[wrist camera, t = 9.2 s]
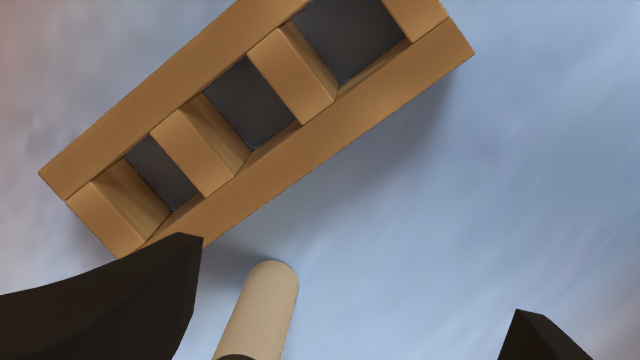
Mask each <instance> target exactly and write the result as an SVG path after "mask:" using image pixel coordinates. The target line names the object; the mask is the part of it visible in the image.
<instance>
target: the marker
mask: <svg viewBox="0 0 640 360" xmlns="http://www.w3.org/2000/svg"><path fill="white" fill-rule="evenodd" d="M298 289H299V281H298V277H297V275H296V273H295V272H294V270H293V269H292V268H291V267H290V266H288V265H287V264H285V263H283V262H280V261H276V260H267V261H263V262H260V263H258V264H257V265H255V266H254V267H253V268H252V270H251V271H250V273H249V275H248V278H247V280H246V282H245V284H244V287H243V289H242V291H241V294H240V296H239V298H238V301H237V303H236V305H235V307H234V310H233V312H232V314H231V317H230V319H229V321H228V323H227V326H226V328H225V330H224V333H223V335H222V337H221V340H220V342H219V344H218V346H217V349H216V351H215V353H214V356H213V358H212V360H280V358H281V354H282V350H283V347H284V343H285V339H286V335H287V331H288V327H289V324H290V320H291V316H292V312H293V308H294V305H295V301H296V297H297V293H298Z"/></svg>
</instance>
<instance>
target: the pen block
mask: <svg viewBox="0 0 640 360" xmlns="http://www.w3.org/2000/svg"><path fill="white" fill-rule="evenodd" d="M312 1H313V0H237V1H236V2H235V3H234V4H232V5H231V6H230V7H229V8H228V9H227V10H225V11H224V12H223V13H222V14H221V15H220V16H218V17H217V18H216V19H215V20H214V21H213V22H211V23H210V24H209V25H208V26H207V27H206V28H204V29H203V30H202V31H201V32H200V33H199V34H197V35H196V36H195V37H194V38H193V39H192V40H190V41H189V42H188V43H187V44H186V45H185V46H183V47H182V48H181V49H180V50H179V51H178V52H176V53H175V54H174V55H173V56H172V57H171V58H169V59H168V60H167V61H166V62H165V63H164V64H163V65H161V66H160V67H159V68H158V69H157V70H156V71H154V72H153V73H152V74H151V75H150V76H149V77H147V78H146V79H145V80H144V81H143V82H142V83H140V84H139V85H138V86H137V87H136V88H135V89H133V90H132V91H131V92H130V93H129V94H128V95H126V96H125V97H124V98H123V99H122V100H121V101H119V102H118V103H117V104H116V105H115V106H114V107H112V108H111V109H110V110H109V111H108V112H107V113H105V114H104V115H103V116H102V117H101V118H100V119H98V120H97V121H96V122H95V123H94V124H93V125H91V126H90V127H89V128H88V129H87V130H86V131H84V132H83V133H82V134H81V135H80V136H79V137H77V138H76V139H75V140H74V141H73V142H72V143H70V144H69V145H68V146H67V147H66V148H65V149H64V150H62V151H61V152H60V153H59V154H58V155H57V156H55V157H54V158H53V159H52V160H51V161H50V162H48V163H47V164H46V165H45V166H44V167H43V168H41V169H40V170H39V171H38V175H39V176H40V177H41V178H42V179H43V180H44V181H45V182H46V183H47V184H48V185H49V186H50V188H51V189H52V190H53V191H54V192H55V193H56V194H57V195H58V196H59V197H60V198H61V199H62V200H63V201H65V200H66V202H65V203H66V205H67V206H68V207H69V208H70V209H71V210H72V211H73V212H74V213H75V214H76V215H77V216H78V217H79V218H80V220H81V221H82V222H83V223H84V224H85V225H86V226H87V227H88V228H89V229H90V230H91V231H92V232H93V233H94V235H95V236H96V237H97V238H98V239H99V240H100V241H101V242H102V243H103V244H104V245H105V246H106V247H107V248H108V249H109V251H110V252H111V253H112V254H113V255H114V256H115V257H116V258H117V259H120V258H122V257H124V256H127V255H129V254H131V253H133V252H135V251H137V250H139V249H142V248H144V247H146V246H148V245H150V244H152V243H154V242H156V241H158V240H160V239H162V238H164V237H167V236H169V235H171V234H173V233H176V232H182V233H187V234H191V235H195V236H200V237H204V241H203V248H204V247H206V246H207V245H208V244H210V243H211V242H213V241H214V240H215V239H217V238H218V237H220V236H221V235H222V234H224V233H225V232H227V231H228V230H229V229H231V228H232V227H234V226H235V225H236V224H238V223H239V222H241V221H242V220H243V219H245V218H246V217H248V216H249V215H250V214H252V213H253V212H255V211H256V210H257V209H259V208H260V207H262V206H263V205H264V204H266V203H267V202H269V201H270V200H271V199H273V198H274V197H276V196H277V195H278V194H280V193H281V192H283V191H284V190H285V189H287V188H288V187H290V186H291V185H292V184H294V183H295V182H297V181H298V180H299V179H301V178H302V177H304V176H305V175H306V174H308V173H309V172H311V171H312V170H313V169H315V168H316V167H318V166H319V165H320V164H322V163H323V162H325V161H326V160H327V159H329V158H330V157H332V156H333V155H334V154H336V153H337V152H339V151H340V150H341V149H343V148H344V147H346V146H347V145H348V144H350V143H351V142H353V141H354V140H355V139H357V138H358V137H360V136H361V135H362V134H364V133H365V132H367V131H368V130H370V129H371V128H372V127H374V126H375V125H377V124H378V123H379V122H381V121H382V120H384V119H385V118H386V117H388V116H389V115H391V114H392V113H393V112H395V111H396V110H398V109H399V108H400V107H402V106H403V105H405V104H406V103H407V102H409V101H410V100H412V99H413V98H414V97H416V96H417V95H419V94H420V93H421V92H423V91H424V90H426V89H427V88H428V87H430V86H431V85H433V84H434V83H435V82H437V81H438V80H440V79H441V78H442V77H444V76H445V75H447V74H448V73H449V72H451V71H452V70H454V69H455V68H456V67H458V66H459V65H461V64H462V63H463V62H465V61H466V60H468V59H469V58H470V57H472V56H473V55H474V54H475V52H474V50H473V49H472V47H471V46H470V44H469V43H468V42H467V40H466V39H465V37H464V36H463V34H462V33H461V31H460V30H459V29H458V27H457V26H456V24H455V23H454V21H453V20H452V18H451V17H449V15H448V13H447V11H446V10H445V8H444V7H443V6H442V4H441V3H440V1H439V0H380V1H381V2H382V4H383V5H384V6H385V8H386V9H387V11H388V12H389V13H390V15H391V16H392V18H393V19H394V20H395V22H396V23H397V25H398V26H399V27H400V29H401V30H402V31H403V33H404V34H405V36H406V37H405V38H403V39H402V40H401V41H399V42H398V43H397V44H395V45H394V46H393V47H391V48H390V49H389V50H387V51H386V52H385V53H383V54H382V55H381V56H379V57H378V58H377V59H375V60H374V61H373V62H371V63H370V64H369V65H367V66H366V67H365V68H363V69H362V70H361V71H359V72H358V73H357V74H355V75H354V76H353V77H351V78H350V79H349V80H347V81H346V82H345V83H344V84H342V85H341V86H340V82H339V81H338V80H337V78H336V77H335V76H334V74H333V73H332V72H331V71H330V69H329V68H328V67H327V65H326V64H325V63H324V61H323V60H322V59H321V57H320V56H319V55H318V53H317V52H316V51H315V50H314V48H313V47H312V46H311V44H310V43H309V42H308V40H307V39H306V38H305V36H304V35H303V34H302V32H301V31H300V30H299V29H298V27H297V26H296V25H295V23H294V22H293V21H292V20H290V19H291V18H293V17H294V16H295V15H296V14H298V13H299V12H300V11H301V10H302V9H304V8H305V7H306V6H307V5H309V4H310V3H311V2H312ZM246 55H247V57H248V58H249V59H250V61H251V62H252V63H253V65H254V66H255V67H256V68H257V70H258V71H259V72H260V73H261V75H262V76H263V77H264V78H265V80H266V81H267V82H268V83H269V85H270V86H271V87H272V88H273V90H274V91H275V92H276V94H277V95H278V96H279V97H280V99H281V100H282V101H283V102H284V104H285V105H286V106H287V107H288V109H289V110H290V111H291V112H292V114H293V115H294V116H295V117H296V120H294V121H293V122H292V123H290V124H289V125H288V126H286V127H285V128H284V129H282V130H281V131H280V132H278V133H277V134H276V135H274V136H273V137H272V138H270V139H269V140H268V141H266V142H265V143H264V144H262V145H261V146H260V147H259V148H257V149H256V150H255V151H253V152H252V151H251V150H250V148H249V147H248V146H247V145H246V143H245V142H244V141H243V140H242V139H241V137H240V136H239V135H238V134H237V133H236V131H235V130H234V129H233V128H232V127H231V125H230V124H229V123H228V122H227V120H226V119H225V118H224V117H223V116H222V114H221V113H220V112H219V111H218V110H217V108H216V107H215V106H214V105H213V103H212V102H211V101H210V100H209V99H208V97H207V96H206V95H205V94H204V93H203V92H202V91H203V90H205V89H206V88H207V87H208V86H210V85H211V84H212V83H213V82H214V81H216V80H217V79H218V78H219V77H221V76H222V75H223V74H224V73H225V72H227V71H228V70H229V69H230V68H232V67H233V66H234V65H235V64H236V63H238V62H239V61H240V60H241V59H243V58H244V57H245V56H246ZM148 135H151V136H152V137H153V138H154V139H155V140H156V142H157V143H158V144H159V145H160V146H161V147H162V149H163V150H164V151H165V152H166V153H167V154H168V155H169V157H170V158H171V159H172V160H173V161H174V162H175V164H176V165H177V166H178V167H179V168H180V169H181V170H182V172H183V173H184V174H185V175H186V176H187V177H188V179H189V180H190V181H191V182H192V183H193V184H194V185H195V187H196V188H197V189H198V190H199V191H200V192H199V193H197V194H196V195H195V196H193V197H192V198H191V199H189V200H188V201H187V202H185V203H184V204H183V205H181V206H180V207H179V208H178V209H176V210H175V211H174V212H172V213H171V210H170V209H169V208H168V207H167V206H166V205H165V203H164V202H163V201H162V200H161V199H160V198H159V197H158V196H157V194H156V193H155V192H154V191H153V190H152V189H151V188H150V187H149V185H148V184H147V183H146V182H145V181H144V180H143V179H142V177H141V176H140V175H139V174H138V173H137V172H136V171H135V170H134V168H133V167H132V166H131V165H130V164H129V163H128V162H127V161H126V159H125V158H122V157H123V156H124V155H125V154H126V153H128V152H129V151H130V150H131V149H133V148H134V147H135V146H136V145H137V144H139V143H140V142H141V141H142V140H144V139H145V138H146V137H147V136H148ZM203 248H202V249H203Z"/></svg>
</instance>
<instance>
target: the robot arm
mask: <svg viewBox="0 0 640 360" xmlns="http://www.w3.org/2000/svg"><path fill="white" fill-rule="evenodd" d="M203 241H204V237H200V236H195V235H191V234H187V233H182V232H176V233H173V234H171V235H169V236H167V237H164V238H162V239H160V240H158V241H156V242H154V243H152V244H150V245H148V246H146V247H144V248H142V249H139V250H137V251H135V252H133V253H131V254H129V255H127V256H124V257H122V258H120V259H118V260H115V261H113V262H110V263H108V264H105V265H103V266H100V267H98V268H95V269H93V270H90V271H88V272H85V273H83V274H80V275H77V276H74V277H71V278H68V279H65V280H61V281H58V282H55V283H51V284H48V285H44V286H40V287H36V288H32V289H27V290H22V291H18V292H13V293H8V294H4V295H0V360H171V359H172V358H173V356H174V354H175V353H176V351H177V349H178V347H179V345H180V343H181V340H182V338H183V336H184V334H185V331H186V329H187V327H188V324H189V322H190V320H191V317H192V315H193V311H194V304H195V297H196V290H197V283H198V276H199V269H200V262H201V255H202V248H203ZM497 360H593V359H592V358H591V357H590V356H589V355H588V354H587V353H586V352H585V351H584V350H582V349H581V348H580V347H579V346H578V345H577V344H576V343H575V342H574V341H573V340H572V339H571V338H570V337H569V336H568V335H567V334H565V333H564V332H563V331H562V330H561V329H560V328H559V327H558V326H557V325H555V324H554V323H553V322H552V321H551V320H550V319H548V318H547V317H546V316H544V315H542V314H537V313H533V312H529V311H524V310H520V309H516V311H515V314H514V316H513V319H512V322H511V324H510V327H509V330H508V332H507V335H506V338H505V341H504V343H503V346H502V349H501V351H500V354H499V357H498V359H497Z"/></svg>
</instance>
